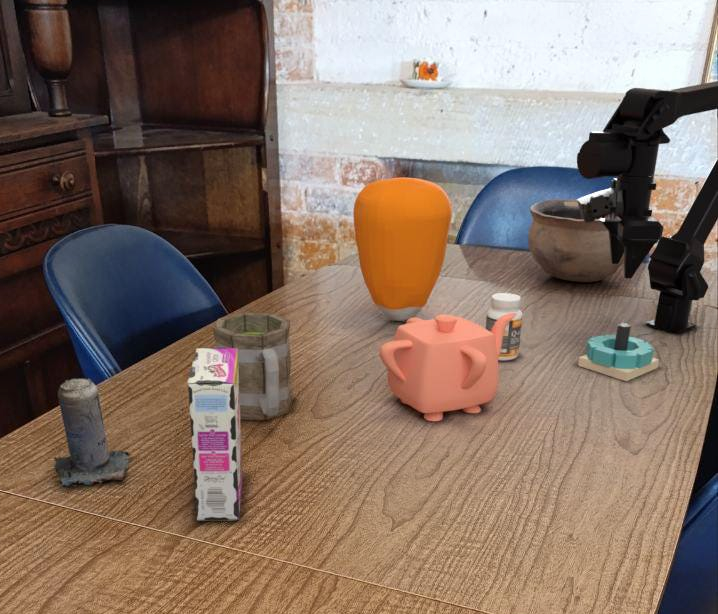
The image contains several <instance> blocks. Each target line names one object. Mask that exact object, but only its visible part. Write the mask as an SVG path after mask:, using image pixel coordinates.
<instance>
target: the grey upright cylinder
mask: <svg viewBox="0 0 718 614" xmlns="http://www.w3.org/2000/svg"><path fill="white" fill-rule="evenodd" d="M57 398H58V403H59V409H60V413H61V417H62V424H63V427H64V432H65V437H66V442H67V447H68V453H69V455H68V456H65V457H64V456H63V457H62V456H61V457H60V456H59V457H56V456H53V459H54V462H55V464H54V469H56V470H57V471H58V474H59V475H58V477H59V480H60V482H61V483H62V486H63V487H64V486H65V487H66V488H68V487H69V486H70V485H73V484H77V483H78V485H80V484H84V485H85V486H92V485H93V484H95V483H99V484H101V483H103V482H106V481H110V480H114V481H119V480H120V481H121V480H124V476H125V474H126V470H127V469H129V464H130V463H129V462H130V459H131V457H130V456H131V454H130V453H129V451H125V450H123V449H121V450H120V449H119V450H112V451H110V450H109V446H108V439H107V435H106V429H105V423H104V417H103V412H102V406H101V401H100V395H99V389H98V387H97V385H96V384H95V383H94V382H93V381H92V379H91V378H87V379H86V378H83V377H81V378H71V379H66V380H65V381H64V382H63V383H61V384H60V385H59V389H58V391H57Z"/></svg>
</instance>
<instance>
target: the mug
mask: <svg viewBox="0 0 718 614" xmlns="http://www.w3.org/2000/svg"><path fill="white" fill-rule="evenodd" d="M290 327H291V320H290V319H287V318H285V317H283V316H281V315H277V314H275V313H269V312H239V313H235V314H232V315H228V316H227V315H226V316H223V317H219V318H217V320H216V322H215V324H214V325H213V327H212V329H213V336H214V341H215V348H237V349H238V372H239V396H240V420H245V421H246V420H248V421H267V420H270V419H273V418H276V417H279V416H281V415H285V414H289V413H290V410H291V407H292V402H293V399H292V391H291V367H292V359H291V358H292V357H291V350H290Z"/></svg>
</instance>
